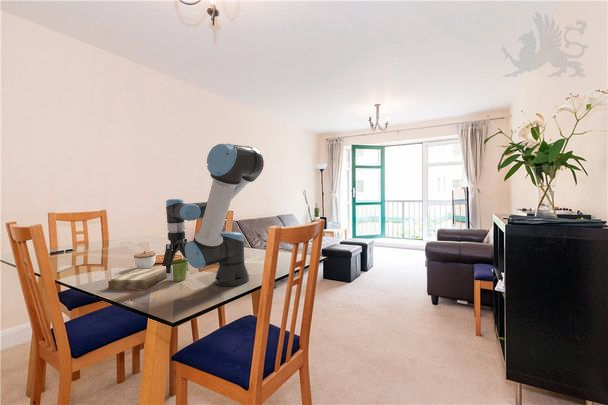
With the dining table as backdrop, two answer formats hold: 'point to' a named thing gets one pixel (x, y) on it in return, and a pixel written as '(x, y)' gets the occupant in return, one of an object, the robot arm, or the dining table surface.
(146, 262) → the lidded jar
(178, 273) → the plant pot
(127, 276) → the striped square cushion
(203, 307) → the dining table surface
